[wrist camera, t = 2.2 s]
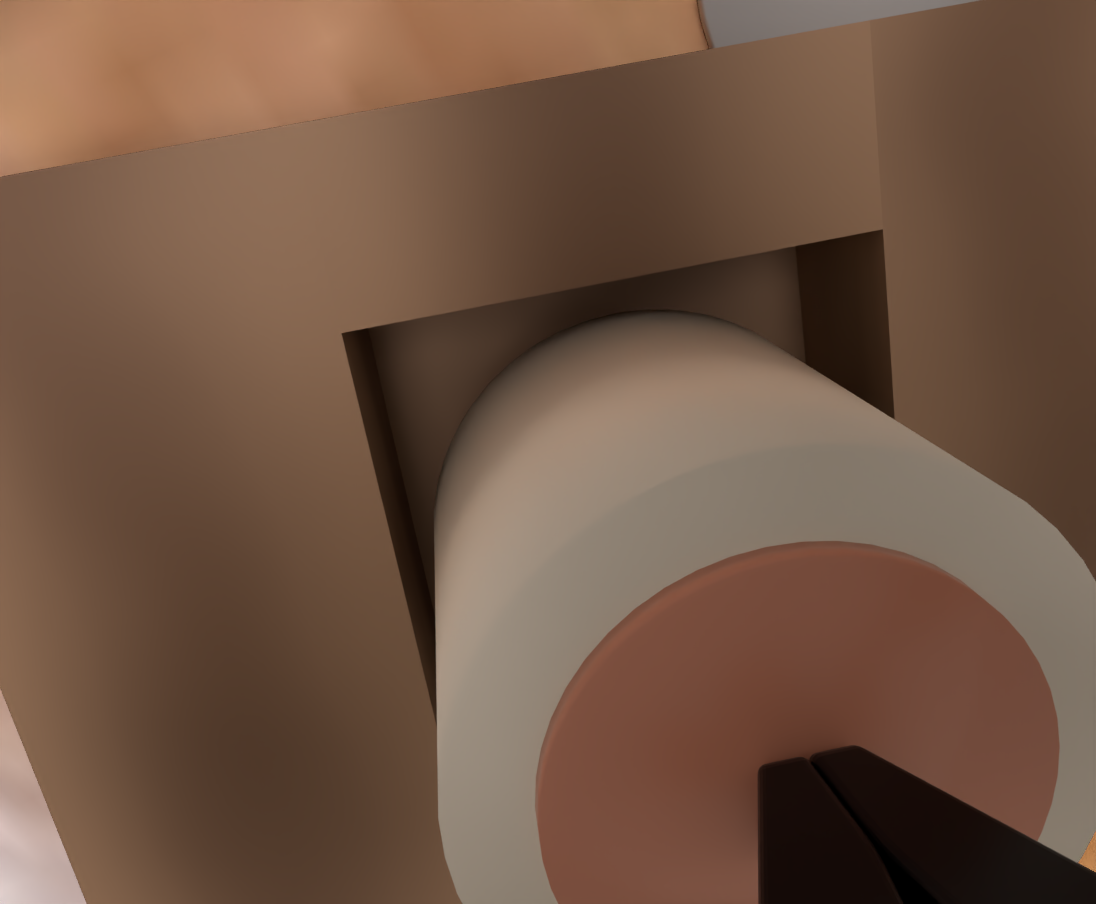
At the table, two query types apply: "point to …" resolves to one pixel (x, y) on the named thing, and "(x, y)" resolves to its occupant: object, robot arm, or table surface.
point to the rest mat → (795, 16)
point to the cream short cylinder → (728, 617)
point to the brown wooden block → (471, 392)
